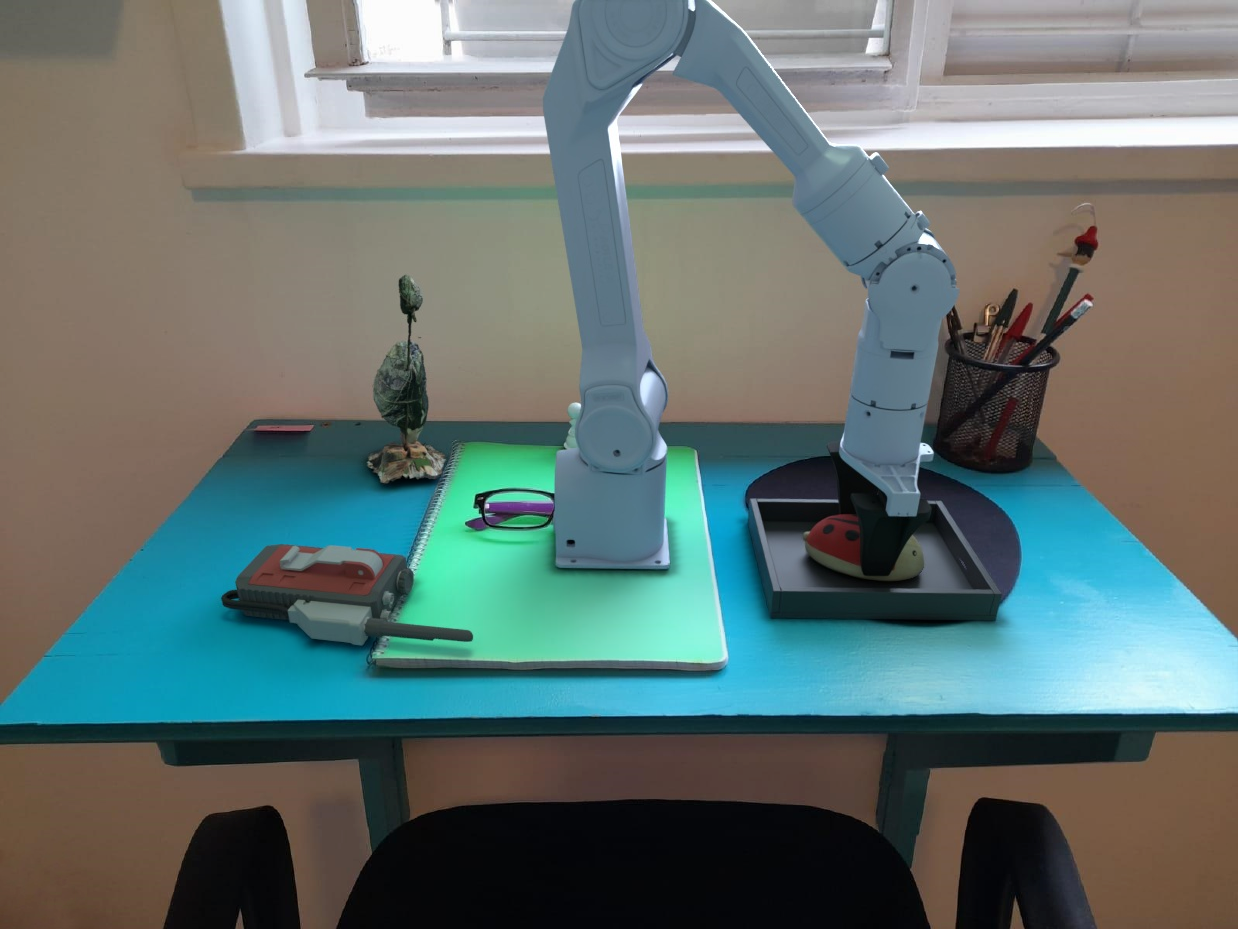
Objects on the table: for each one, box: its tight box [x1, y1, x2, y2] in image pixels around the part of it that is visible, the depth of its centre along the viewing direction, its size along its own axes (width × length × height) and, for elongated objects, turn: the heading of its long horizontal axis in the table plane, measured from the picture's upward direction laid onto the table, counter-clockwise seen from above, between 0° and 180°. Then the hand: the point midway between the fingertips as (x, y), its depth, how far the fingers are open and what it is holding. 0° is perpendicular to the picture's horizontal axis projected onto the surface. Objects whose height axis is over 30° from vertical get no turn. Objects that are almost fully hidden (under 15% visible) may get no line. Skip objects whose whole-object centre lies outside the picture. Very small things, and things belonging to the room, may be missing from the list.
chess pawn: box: [563, 402, 581, 450], centre depth 91 cm, size 3×3×5 cm
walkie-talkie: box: [220, 543, 474, 646], centre depth 66 cm, size 9×4×20 cm
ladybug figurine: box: [803, 514, 924, 581], centre depth 72 cm, size 7×10×4 cm
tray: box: [747, 498, 1003, 622], centre depth 72 cm, size 17×14×2 cm
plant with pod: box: [366, 273, 447, 484], centre depth 84 cm, size 8×11×20 cm
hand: (864, 547), depth 72 cm, fingers closed on ladybug figurine, 7 cm apart
